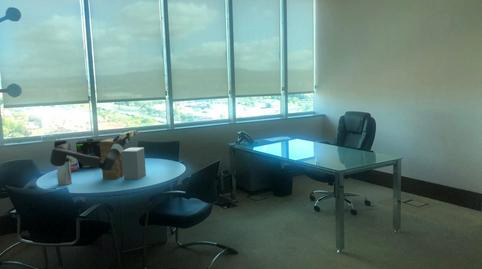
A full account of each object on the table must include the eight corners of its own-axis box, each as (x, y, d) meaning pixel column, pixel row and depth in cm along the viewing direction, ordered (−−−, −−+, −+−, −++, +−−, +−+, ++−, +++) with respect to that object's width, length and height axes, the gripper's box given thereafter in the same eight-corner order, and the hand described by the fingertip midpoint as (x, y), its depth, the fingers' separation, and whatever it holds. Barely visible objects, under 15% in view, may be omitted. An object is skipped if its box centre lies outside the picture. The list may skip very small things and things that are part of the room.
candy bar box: (76, 169, 336) (74, 151, 333) (78, 170, 332) (76, 152, 329) (63, 172, 329) (61, 153, 326) (64, 173, 325) (62, 154, 322)
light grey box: (138, 179, 295) (136, 150, 292) (124, 179, 297) (121, 150, 294) (145, 174, 309) (143, 147, 306) (132, 174, 311) (129, 147, 308)
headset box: (78, 169, 338) (75, 140, 334) (81, 166, 350) (78, 138, 346) (104, 167, 342) (102, 138, 339) (106, 164, 354) (104, 136, 350)
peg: (125, 139, 281) (124, 134, 281) (118, 139, 282) (118, 134, 282) (137, 134, 303) (137, 130, 302) (132, 134, 304) (131, 130, 303)
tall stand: (116, 179, 298) (113, 141, 294) (102, 179, 301) (99, 141, 296) (125, 174, 312) (122, 138, 308) (111, 174, 314) (108, 138, 310)
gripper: (125, 144, 272) (133, 129, 285) (106, 144, 274) (115, 129, 288) (128, 151, 276) (136, 137, 290) (110, 151, 279) (119, 137, 292)
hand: (126, 133), depth 289 cm, fingers closed on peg, 3 cm apart
